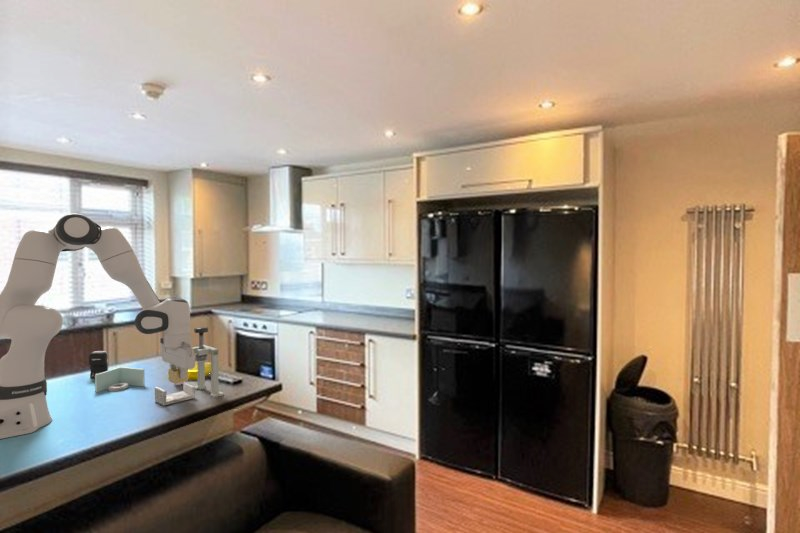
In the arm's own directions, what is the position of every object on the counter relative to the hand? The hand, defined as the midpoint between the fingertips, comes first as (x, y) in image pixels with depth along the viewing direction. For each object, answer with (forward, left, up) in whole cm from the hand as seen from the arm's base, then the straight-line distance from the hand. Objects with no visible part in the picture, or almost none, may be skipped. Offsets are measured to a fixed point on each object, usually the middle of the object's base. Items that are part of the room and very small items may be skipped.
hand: (178, 376), depth 169 cm
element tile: (+18, +28, -9) cm, 34 cm away
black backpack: (-11, +53, -9) cm, 55 cm away
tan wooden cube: (0, 0, -2) cm, 2 cm away
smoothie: (+8, +18, -9) cm, 22 cm away
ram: (+9, -1, +5) cm, 10 cm away
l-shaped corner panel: (-10, +30, -9) cm, 33 cm away
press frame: (+9, -1, -9) cm, 12 cm away
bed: (-2, -1, -8) cm, 8 cm away
